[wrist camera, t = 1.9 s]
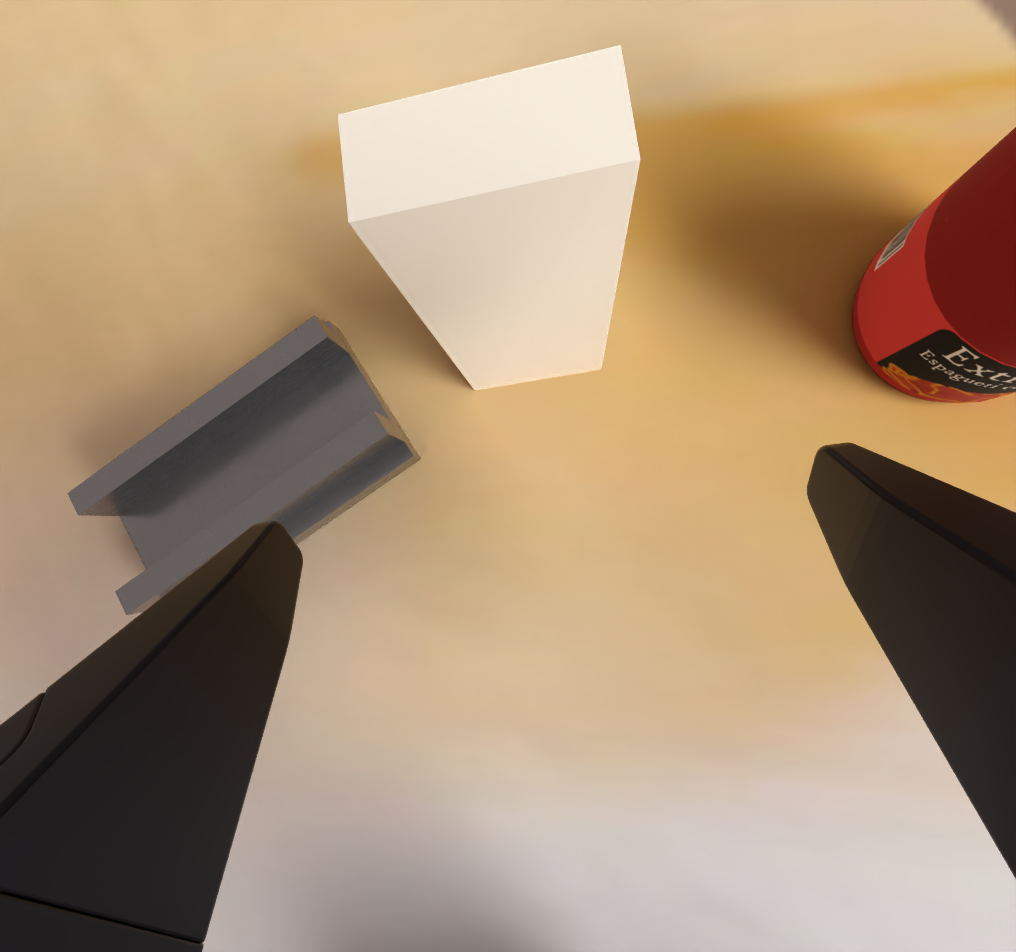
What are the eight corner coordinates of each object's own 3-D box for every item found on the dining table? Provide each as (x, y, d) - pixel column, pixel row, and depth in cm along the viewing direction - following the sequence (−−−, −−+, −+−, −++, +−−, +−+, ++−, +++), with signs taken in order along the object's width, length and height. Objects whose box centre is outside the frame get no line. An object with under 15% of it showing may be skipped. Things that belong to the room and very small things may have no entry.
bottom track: (420, 459, 23) (397, 449, 20) (189, 617, 24) (134, 631, 21) (338, 328, 24) (305, 301, 21) (121, 483, 25) (60, 478, 22)
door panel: (601, 369, 22) (640, 159, 9) (474, 390, 23) (348, 222, 10) (592, 310, 22) (617, 29, 10) (467, 333, 23) (336, 99, 10)
